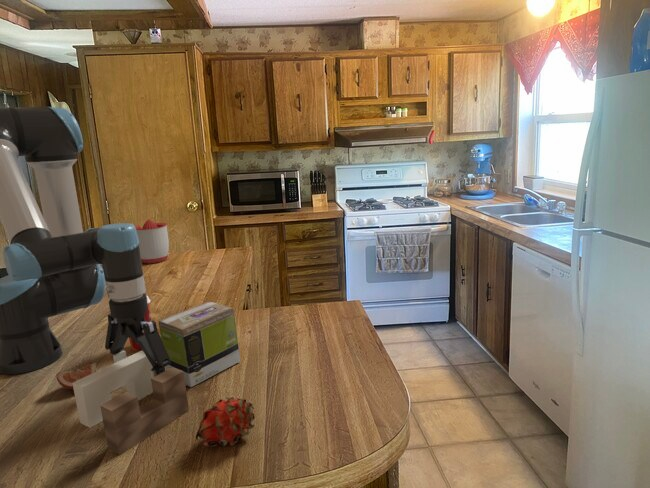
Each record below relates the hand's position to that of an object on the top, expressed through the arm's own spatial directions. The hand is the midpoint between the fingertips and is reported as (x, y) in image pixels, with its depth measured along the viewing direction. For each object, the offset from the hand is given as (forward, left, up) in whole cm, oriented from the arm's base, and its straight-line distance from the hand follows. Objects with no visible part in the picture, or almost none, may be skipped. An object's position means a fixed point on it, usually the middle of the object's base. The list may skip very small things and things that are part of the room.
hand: (141, 386), depth 105 cm
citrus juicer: (-101, +79, -2) cm, 128 cm away
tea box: (+4, +15, -2) cm, 15 cm away
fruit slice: (-16, -5, -2) cm, 17 cm away
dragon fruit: (+29, -2, -2) cm, 29 cm away
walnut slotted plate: (+13, -7, -2) cm, 15 cm away
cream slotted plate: (0, -5, -2) cm, 6 cm away
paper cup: (-22, +16, -2) cm, 27 cm away
